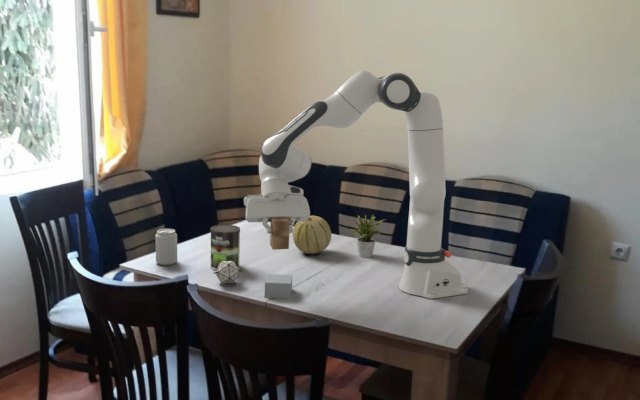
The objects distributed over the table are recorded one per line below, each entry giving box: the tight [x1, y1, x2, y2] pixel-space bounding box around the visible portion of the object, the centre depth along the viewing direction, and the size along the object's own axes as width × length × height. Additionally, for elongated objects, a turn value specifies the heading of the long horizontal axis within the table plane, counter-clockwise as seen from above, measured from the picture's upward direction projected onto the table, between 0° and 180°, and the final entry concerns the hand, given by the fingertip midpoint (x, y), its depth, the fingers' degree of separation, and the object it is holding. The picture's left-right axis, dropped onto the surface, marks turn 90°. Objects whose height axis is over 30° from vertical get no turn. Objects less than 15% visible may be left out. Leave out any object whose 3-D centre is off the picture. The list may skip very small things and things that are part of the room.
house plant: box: [351, 214, 388, 258], centre depth 242 cm, size 14×14×16 cm
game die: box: [213, 258, 242, 286], centre depth 208 cm, size 9×8×10 cm
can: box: [155, 228, 178, 266], centre depth 226 cm, size 8×8×12 cm
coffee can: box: [209, 224, 241, 271], centre depth 224 cm, size 10×10×14 cm
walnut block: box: [269, 217, 291, 250], centre depth 198 cm, size 5×5×9 cm
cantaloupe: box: [292, 215, 332, 255], centre depth 243 cm, size 15×15×15 cm
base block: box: [264, 273, 293, 299], centre depth 202 cm, size 8×8×5 cm
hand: (280, 232), depth 198 cm, fingers closed on walnut block, 5 cm apart
